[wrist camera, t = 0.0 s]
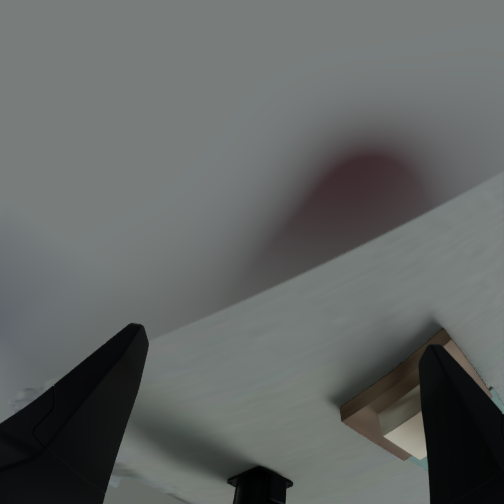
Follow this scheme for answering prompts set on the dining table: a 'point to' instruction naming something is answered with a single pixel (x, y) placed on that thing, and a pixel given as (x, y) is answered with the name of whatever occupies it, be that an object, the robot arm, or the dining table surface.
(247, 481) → the robot arm
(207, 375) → the dining table surface
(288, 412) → the dining table surface
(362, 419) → the walnut board
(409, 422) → the birch tile
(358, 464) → the dining table surface
